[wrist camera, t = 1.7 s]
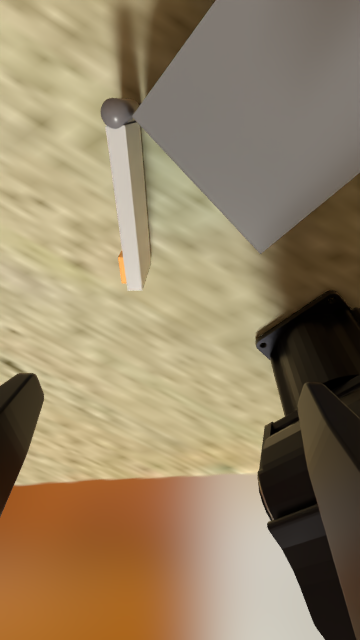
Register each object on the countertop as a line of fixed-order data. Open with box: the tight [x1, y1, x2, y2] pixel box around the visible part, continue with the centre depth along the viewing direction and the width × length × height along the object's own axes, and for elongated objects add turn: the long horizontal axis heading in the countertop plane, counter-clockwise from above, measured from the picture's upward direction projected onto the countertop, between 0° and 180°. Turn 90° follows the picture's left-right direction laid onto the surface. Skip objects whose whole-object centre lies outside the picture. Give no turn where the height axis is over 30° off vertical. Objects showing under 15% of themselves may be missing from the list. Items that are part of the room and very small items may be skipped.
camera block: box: [132, 0, 360, 254], centre depth 12 cm, size 10×9×5 cm
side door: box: [101, 98, 151, 291], centre depth 16 cm, size 2×9×4 cm, turn 1°
